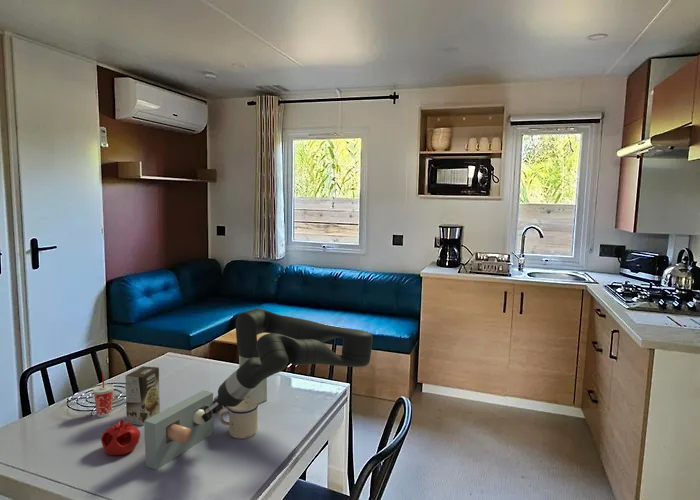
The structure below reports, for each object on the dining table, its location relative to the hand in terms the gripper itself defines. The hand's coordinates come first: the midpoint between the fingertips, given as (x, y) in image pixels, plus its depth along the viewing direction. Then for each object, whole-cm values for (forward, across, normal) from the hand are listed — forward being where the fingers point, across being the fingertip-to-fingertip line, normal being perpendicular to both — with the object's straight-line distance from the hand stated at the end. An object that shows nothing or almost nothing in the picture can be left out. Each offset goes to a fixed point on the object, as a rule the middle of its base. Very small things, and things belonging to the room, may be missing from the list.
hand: (205, 418), depth 133 cm
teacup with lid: (+3, +10, -9) cm, 14 cm away
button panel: (+9, -5, -2) cm, 10 cm away
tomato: (+20, -13, +8) cm, 25 cm away
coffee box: (+26, +3, +15) cm, 30 cm away
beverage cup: (+36, -1, +25) cm, 44 cm away
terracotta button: (+2, -10, -1) cm, 10 cm away
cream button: (+4, 0, +2) cm, 5 cm away
